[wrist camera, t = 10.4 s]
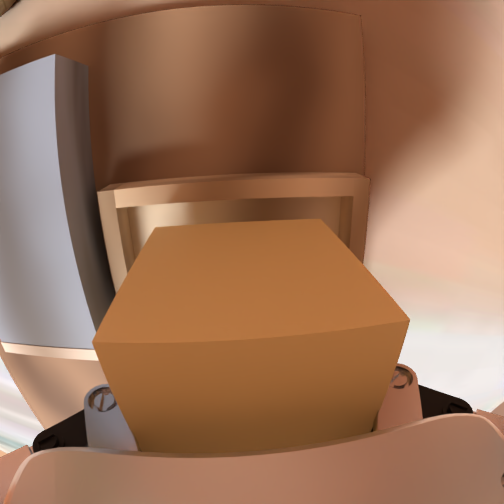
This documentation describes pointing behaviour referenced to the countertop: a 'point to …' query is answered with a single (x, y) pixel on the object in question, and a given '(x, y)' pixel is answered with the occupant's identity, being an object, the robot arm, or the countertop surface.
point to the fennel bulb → (5, 5)
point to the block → (248, 338)
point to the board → (162, 161)
